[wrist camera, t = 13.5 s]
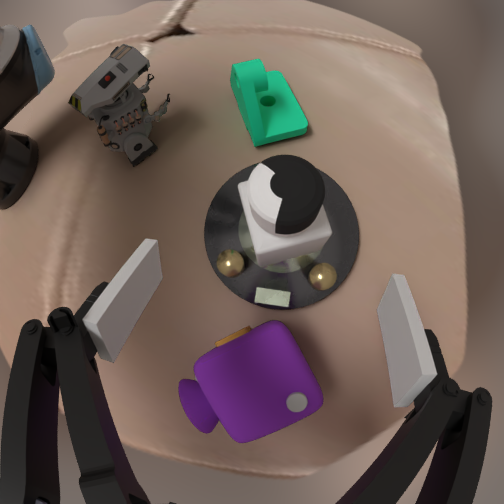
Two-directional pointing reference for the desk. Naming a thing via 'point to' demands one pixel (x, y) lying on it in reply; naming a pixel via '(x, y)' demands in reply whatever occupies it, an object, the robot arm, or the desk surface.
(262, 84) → the camera mount
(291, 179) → the medicine bottle
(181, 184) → the desk surface
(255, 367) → the toy camera
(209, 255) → the plate
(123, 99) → the figurine
